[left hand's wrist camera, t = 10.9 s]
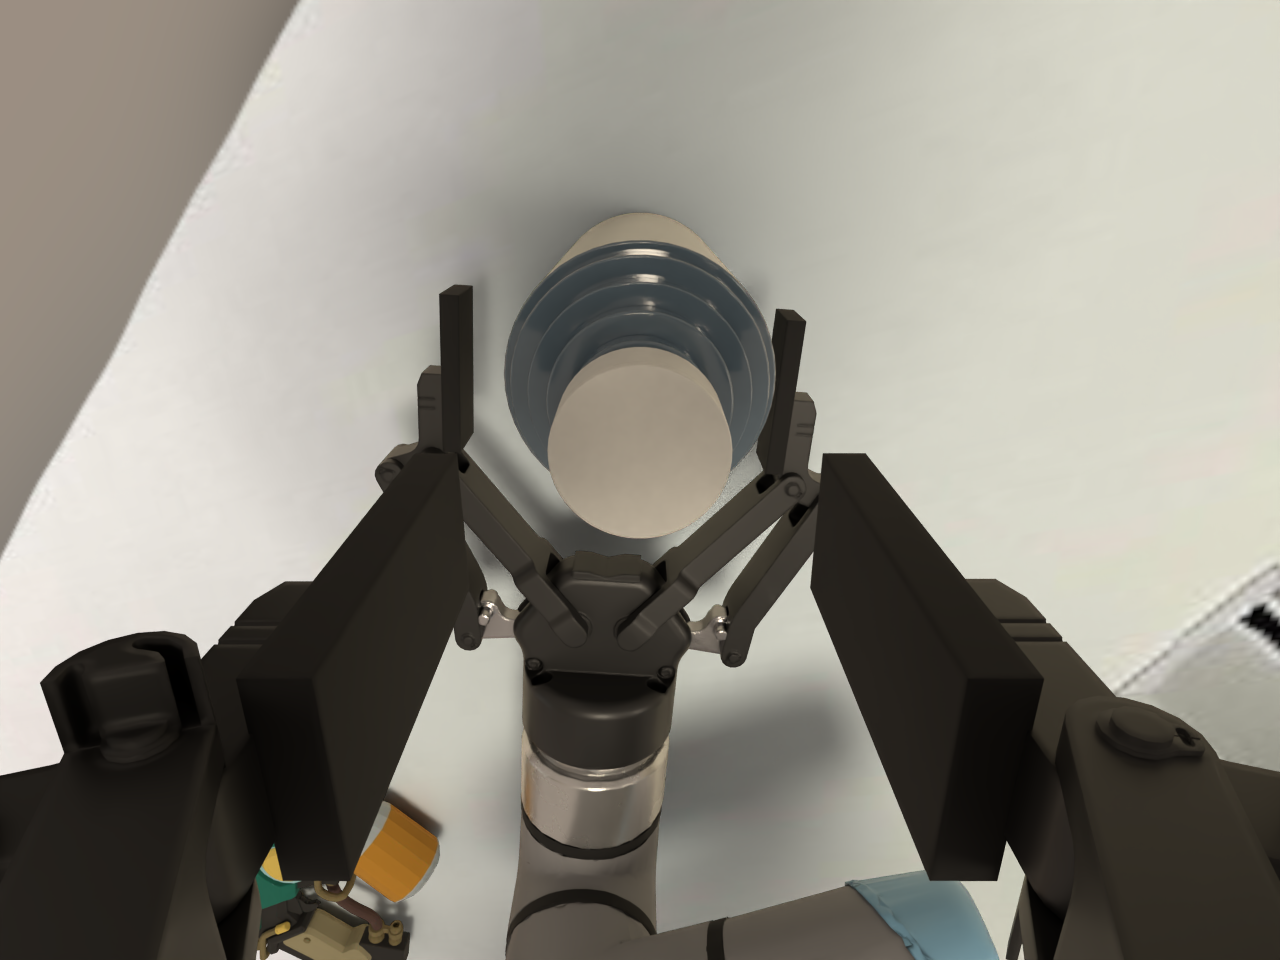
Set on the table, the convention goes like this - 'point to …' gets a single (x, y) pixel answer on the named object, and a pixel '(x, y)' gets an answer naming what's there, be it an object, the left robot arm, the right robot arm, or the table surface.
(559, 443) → the cap
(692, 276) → the bottle
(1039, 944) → the left robot arm
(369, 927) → the spray gun
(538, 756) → the right robot arm
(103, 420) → the table surface
